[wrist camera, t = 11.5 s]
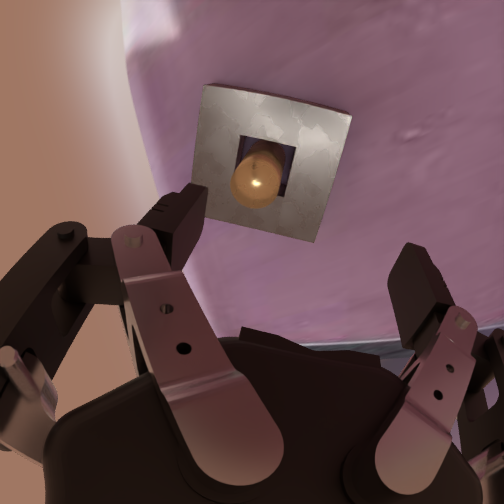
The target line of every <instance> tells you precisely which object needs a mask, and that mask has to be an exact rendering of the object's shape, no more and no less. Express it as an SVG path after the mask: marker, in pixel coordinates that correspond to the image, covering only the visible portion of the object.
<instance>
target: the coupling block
mask: <svg viewBox="0 0 504 504" xmlns="http://www.w3.org/2000/svg"><path fill="white" fill-rule="evenodd" d="M351 119H352V116H351V115H350V114H349V113H348V112H346V111H343V110H339V109H336V108H332V107H329V106H325V105H321V104H317V103H313V102H309V101H305V100H301V99H297V98H292V97H288V96H283V95H279V94H274V93H269V92H264V91H259V90H253V89H248V88H242V87H236V86H229V85H222V84H215V83H212V84H207V85H203V92H202V99H201V106H200V113H199V120H198V127H197V135H196V143H195V152H194V160H193V169H192V179H191V183H193V184H197V185H202V186H206V187H208V197H207V204H206V211H205V217H206V218H211V219H215V220H219V221H224V222H228V223H232V224H237V225H241V226H245V227H249V228H254V229H258V230H262V231H266V232H271V233H275V234H279V235H283V236H287V237H291V238H295V239H299V240H304V241H308V242H312V243H314V241H315V238H316V235H317V232H318V229H319V226H320V223H321V220H322V217H323V214H324V211H325V207H326V204H327V201H328V198H329V195H330V191H331V188H332V185H333V181H334V178H335V175H336V171H337V168H338V165H339V161H340V158H341V154H342V151H343V147H344V144H345V140H346V137H347V133H348V130H349V126H350V122H351ZM245 136H249V137H254V138H259V139H264V140H268V141H273V142H277V143H282V144H286V145H290V146H294V147H295V151H294V155H293V159H292V164H291V168H290V172H289V176H288V180H287V184H286V185H283V184H280V186H279V191H278V194H277V197H276V198H275V200H274V201H273V202H272V203H271V204H269V205H268V206H266V207H263V208H258V209H254V208H248V207H246V206H243V205H242V204H240V203H239V202H238V201H237V200H236V199H235V198H234V196H233V194H232V192H231V188H230V181H231V177H232V175H233V173H234V172H235V170H236V169H237V167H238V166H239V164H240V163H241V158H242V152H243V146H244V141H245Z"/></svg>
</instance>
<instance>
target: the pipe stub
mask: <svg viewBox="0 0 504 504" xmlns="http://www.w3.org/2000/svg"><path fill="white" fill-rule="evenodd" d="M284 164H285V152H284V150H283V148H282V146H281V145H280V144H278V143H277V142H273V141H268V140H264V139H263V140H259V141H257V142H256V143H254V144H253V145H252V146H251V148H250V149H249V151H248V152H247V154H246V155H245V157H244V158H243V160H242V161H241V163H240V164H239V166H238V167H237V169H236V170H235V172H234V173H233V175H232V177H231V181H230V188H231V192H232V194H233V196H234V198H235V199H236V200H237V201H238V202H239V203H240V204H242V205H243V206H246V207H248V208H254V209H258V208H263V207H266V206H268V205H269V204H271V203H272V202H273V201H274V200H275V198H276V197H277V194H278V191H279V186H280V182H281V177H282V173H283V168H284Z"/></svg>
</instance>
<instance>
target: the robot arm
mask: <svg viewBox="0 0 504 504" xmlns="http://www.w3.org/2000/svg"><path fill="white" fill-rule="evenodd" d="M207 197H208V187H206V186H202V185H197V184H193V183H188V184H187V185H186V186H185V187H184V189H183V190H182V191H181V192H180V193H176V192H171V193H169V194H167V195H164V196H162V197H161V198H160V200H159V201H158V202H157V203H156V204H155V205H154V206H153V207H152V209H151V210H149V211H148V213H147V214H146V215H145V216H144V217H143V218H142V219H141V220H140V221H139V222H138V224H137V225H126V226H123V227H120V228H118V229H117V230H116V231H114V232H113V234H112V236H111V238H92V237H91V238H90V237H88V236H87V229H86V227H85V226H84V225H83V224H81V223H79V222H72V221H68V222H62V223H59V224H56V225H54V226H53V227H51V228H50V229H49V230H48V231H47V232H46V233H45V234H44V235H43V236H42V237H41V238H40V239H39V240H38V241H37V242H36V243H35V244H34V245H33V246H32V247H31V248H30V249H29V250H28V251H27V252H26V253H25V254H24V255H23V256H22V257H21V259H20V260H19V261H18V262H17V263H16V264H15V265H14V266H13V267H12V268H11V269H10V271H9V272H8V273H7V274H6V275H5V276H4V277H3V279H2V280H1V281H0V450H2V451H14V452H15V453H17V454H19V455H20V456H22V457H24V458H26V459H27V460H29V461H31V462H33V463H34V464H36V465H38V466H40V467H42V468H43V471H44V478H45V490H46V492H45V493H46V495H45V496H46V497H45V504H504V330H502V329H495V330H494V331H493V332H492V333H491V334H490V336H489V337H487V336H485V335H483V334H481V333H479V332H478V331H477V330H478V326H477V323H476V321H475V319H474V318H473V317H472V315H471V314H470V313H469V312H468V311H466V310H465V309H463V308H461V307H459V306H456V305H455V303H454V301H453V298H452V296H451V294H450V292H449V290H448V288H447V285H446V283H445V281H443V277H442V275H441V273H440V271H439V270H438V268H437V267H436V266H435V265H434V264H433V262H432V260H431V258H430V256H429V254H428V252H427V251H426V249H425V248H424V247H422V246H419V245H416V244H413V243H409V242H408V243H406V244H405V246H404V247H403V249H402V251H401V253H400V255H399V257H398V259H397V261H396V263H395V264H394V266H393V268H392V270H391V272H390V274H389V277H388V283H387V286H388V290H389V294H390V298H391V302H392V305H393V309H394V313H395V317H396V321H397V326H398V330H399V334H400V339H401V343H402V348H405V349H411V350H415V353H414V354H413V355H412V357H411V358H410V359H409V361H408V362H407V364H406V365H405V367H404V368H403V370H402V371H401V373H400V375H399V376H396V375H395V374H393V373H392V372H390V371H389V370H387V369H385V368H383V367H381V364H380V356H378V355H373V354H367V353H361V352H356V351H351V350H340V351H314V350H311V349H308V348H306V347H304V346H301V345H299V344H297V343H294V342H292V341H290V340H288V339H285V338H283V337H281V336H279V335H275V334H271V333H267V332H262V331H258V330H254V329H250V328H246V327H241V331H240V335H239V337H222V338H217V337H216V335H215V333H214V331H213V329H212V328H211V326H210V324H209V322H208V320H207V318H206V316H205V315H204V313H203V311H202V309H201V307H200V305H199V303H198V301H197V299H196V297H195V295H194V293H193V292H192V290H191V288H190V286H189V284H188V282H187V280H186V278H185V276H184V274H183V272H182V269H183V267H184V266H185V264H186V262H187V260H188V258H189V256H190V254H191V253H192V251H193V249H194V247H195V245H196V244H197V242H198V240H199V238H200V236H201V233H202V229H203V225H204V218H205V211H206V204H207ZM94 304H108V305H118V309H119V313H120V317H121V321H122V324H123V328H124V332H125V335H126V339H127V342H128V345H129V349H130V353H131V357H132V361H133V365H134V369H135V372H136V375H137V378H135V379H133V380H131V381H129V382H127V383H125V384H123V385H121V386H119V387H117V388H116V389H114V390H112V391H110V392H108V393H106V394H104V395H102V396H100V397H98V398H96V399H94V400H92V401H90V402H88V403H86V404H84V405H82V406H80V407H78V408H76V409H74V410H72V411H70V412H68V413H67V414H65V415H64V416H62V417H61V418H60V419H59V420H58V421H57V422H56V421H55V409H56V405H57V400H58V395H57V391H56V388H55V386H54V385H53V383H52V379H53V377H54V375H55V374H56V372H57V370H58V368H59V366H60V364H61V362H62V360H63V358H64V357H65V355H66V353H67V351H68V349H69V347H70V346H71V344H72V342H73V340H74V339H75V337H76V335H77V333H78V331H79V330H80V328H81V326H82V325H83V323H84V321H85V319H86V318H87V316H88V314H89V312H90V311H91V309H92V308H93V306H94ZM494 378H495V379H496V382H497V386H498V390H499V397H498V400H497V402H496V403H495V405H494V406H492V407H491V408H490V409H489V410H488V406H487V402H486V398H485V393H484V389H483V388H484V387H485V386H486V385H487V384H488V383H489V382H490V381H491V380H492V379H494ZM456 417H457V421H458V427H459V435H460V443H461V451H462V454H461V452H460V451H459V450H458V449H457V447H456V446H455V445H454V443H453V442H452V436H451V434H450V432H451V429H452V426H453V424H454V421H455V419H456Z"/></svg>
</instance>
